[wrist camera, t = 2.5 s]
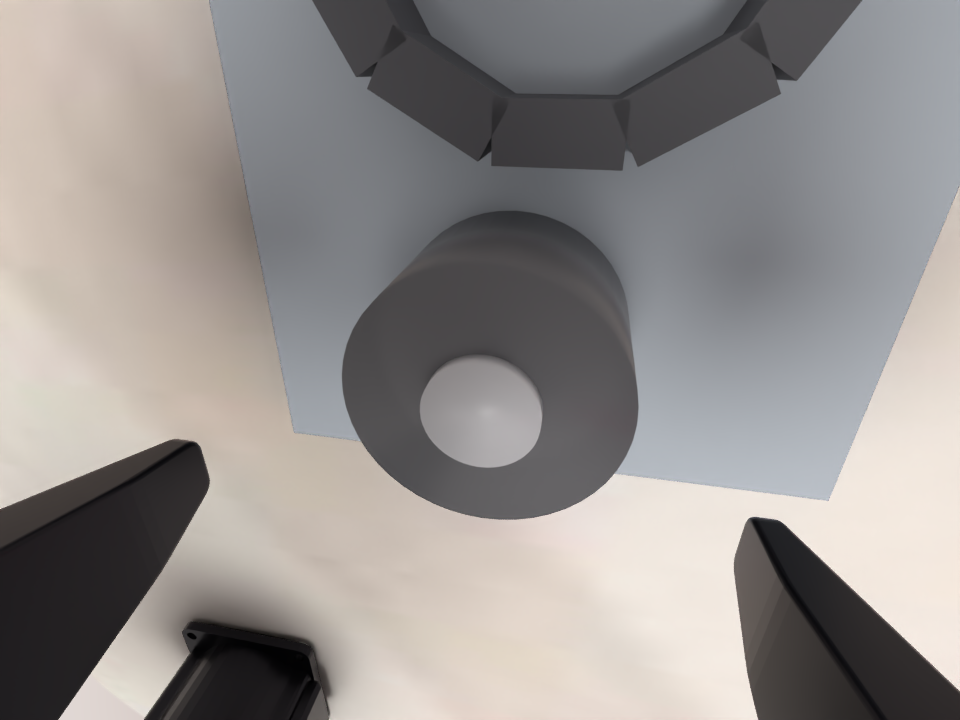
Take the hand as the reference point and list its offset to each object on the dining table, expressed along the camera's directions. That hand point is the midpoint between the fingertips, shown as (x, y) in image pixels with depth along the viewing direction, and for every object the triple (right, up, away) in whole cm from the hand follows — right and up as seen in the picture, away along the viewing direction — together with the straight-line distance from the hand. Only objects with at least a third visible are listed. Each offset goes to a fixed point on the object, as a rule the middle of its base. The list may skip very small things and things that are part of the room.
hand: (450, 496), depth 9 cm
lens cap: (+1, +3, +6) cm, 7 cm away
